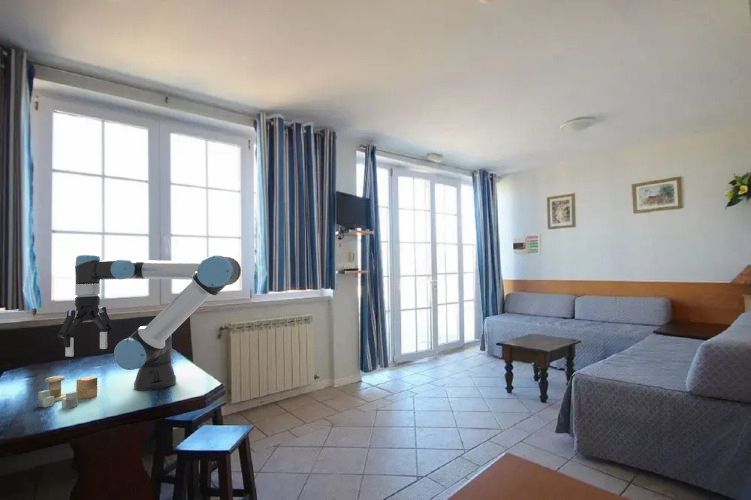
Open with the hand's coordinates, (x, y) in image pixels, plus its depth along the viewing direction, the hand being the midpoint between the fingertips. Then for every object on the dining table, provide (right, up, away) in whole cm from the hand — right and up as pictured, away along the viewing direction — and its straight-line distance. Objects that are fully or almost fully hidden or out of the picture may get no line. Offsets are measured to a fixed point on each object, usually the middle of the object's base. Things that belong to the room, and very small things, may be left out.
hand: (87, 352), depth 148 cm
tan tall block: (+1, -17, -1) cm, 17 cm away
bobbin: (-10, -17, -3) cm, 20 cm away
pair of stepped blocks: (-3, -16, -11) cm, 19 cm away
